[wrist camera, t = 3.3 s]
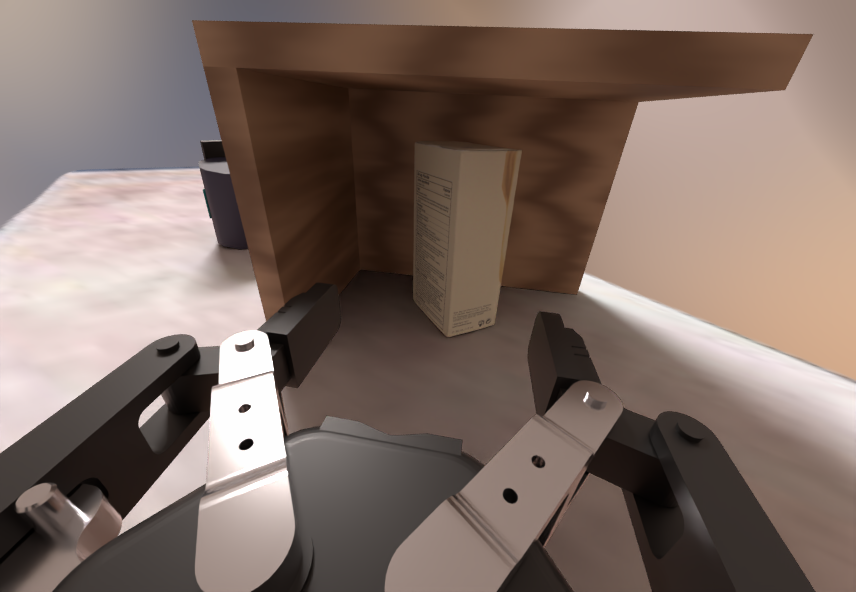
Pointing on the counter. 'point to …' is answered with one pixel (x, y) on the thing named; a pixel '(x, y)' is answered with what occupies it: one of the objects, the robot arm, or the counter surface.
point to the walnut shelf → (444, 131)
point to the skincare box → (461, 231)
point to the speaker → (221, 196)
